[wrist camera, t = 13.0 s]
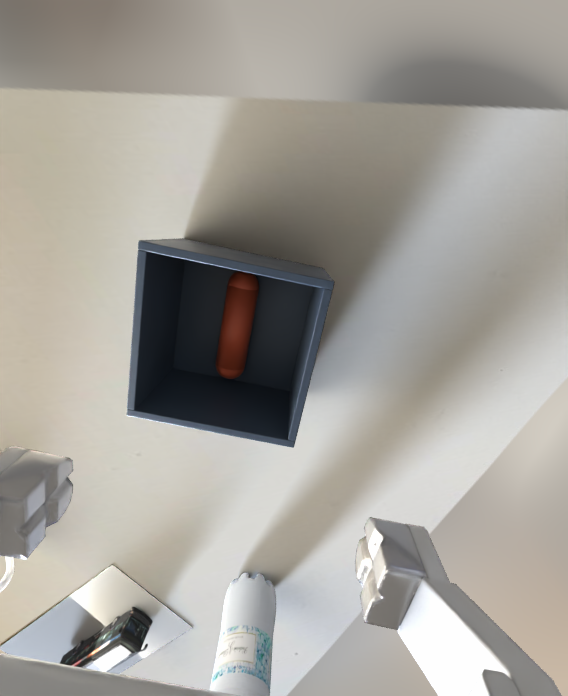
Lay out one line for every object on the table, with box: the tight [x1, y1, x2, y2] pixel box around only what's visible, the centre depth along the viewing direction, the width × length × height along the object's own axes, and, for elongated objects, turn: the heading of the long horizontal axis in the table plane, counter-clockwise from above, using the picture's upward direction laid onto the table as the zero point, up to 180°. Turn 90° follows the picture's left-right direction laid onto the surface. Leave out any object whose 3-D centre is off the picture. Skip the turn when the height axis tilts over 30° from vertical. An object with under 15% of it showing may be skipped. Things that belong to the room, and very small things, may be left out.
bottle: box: [210, 572, 276, 696], centre depth 35 cm, size 7×7×20 cm
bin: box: [127, 239, 334, 447], centre depth 30 cm, size 13×13×10 cm
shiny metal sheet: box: [0, 565, 193, 674], centre depth 47 cm, size 14×25×4 cm, turn 131°
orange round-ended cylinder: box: [216, 271, 259, 379], centre depth 32 cm, size 10×3×3 cm, turn 168°
